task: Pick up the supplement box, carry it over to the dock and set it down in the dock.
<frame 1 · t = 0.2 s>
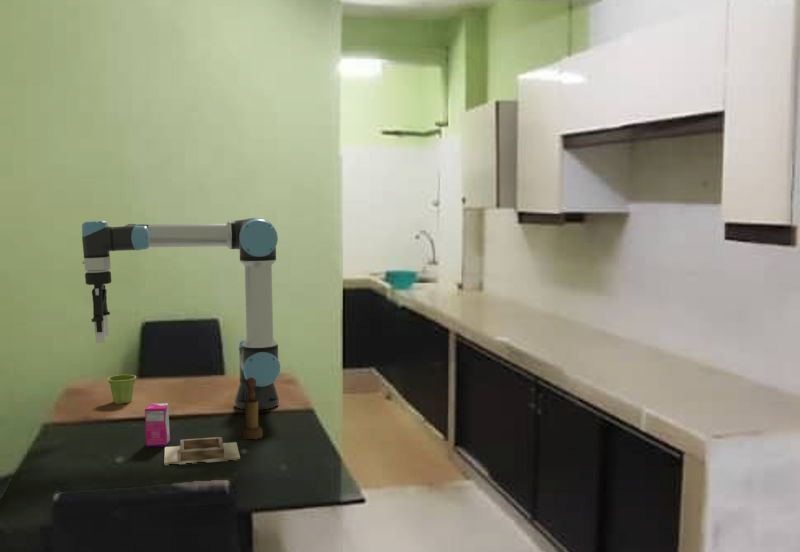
hand: (102, 339, 255), 27 cm above the table, tool pointing down, fingers open, 13 cm apart
dock: (201, 454, 230), on the table
brown tall column piece: (251, 437, 247), on the table
supplement box: (158, 444, 239), on the table
plant pot: (122, 402, 287), on the table
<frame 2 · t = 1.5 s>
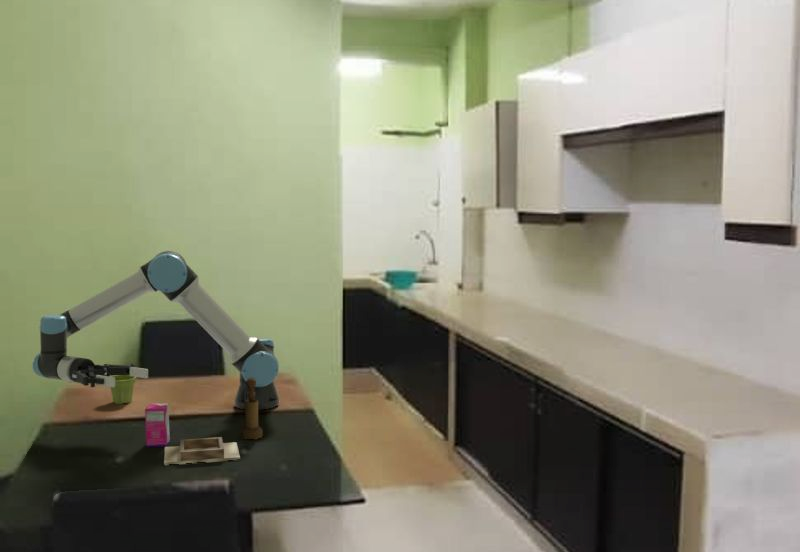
hand: (131, 378, 242), 19 cm above the table, tool horizontal, fingers open, 13 cm apart
nothing on the table moved.
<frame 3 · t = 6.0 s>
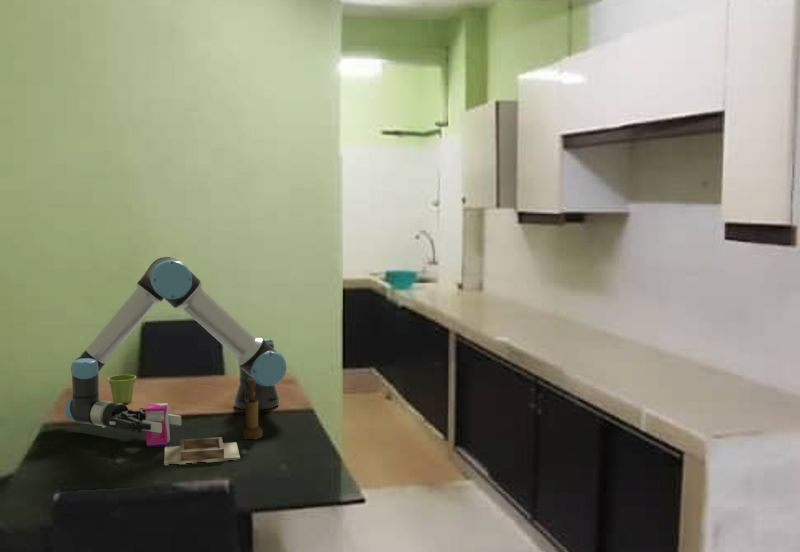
hand: (170, 424, 237), 7 cm above the table, tool horizontal, fingers closed on supplement box, 8 cm apart
supplement box: (158, 444, 239), on the table, touching gripper
everything else where it was.
when the fingers open (9 cm above the table, at t = 10.8 s): supplement box drops 1 cm, resting on dock.
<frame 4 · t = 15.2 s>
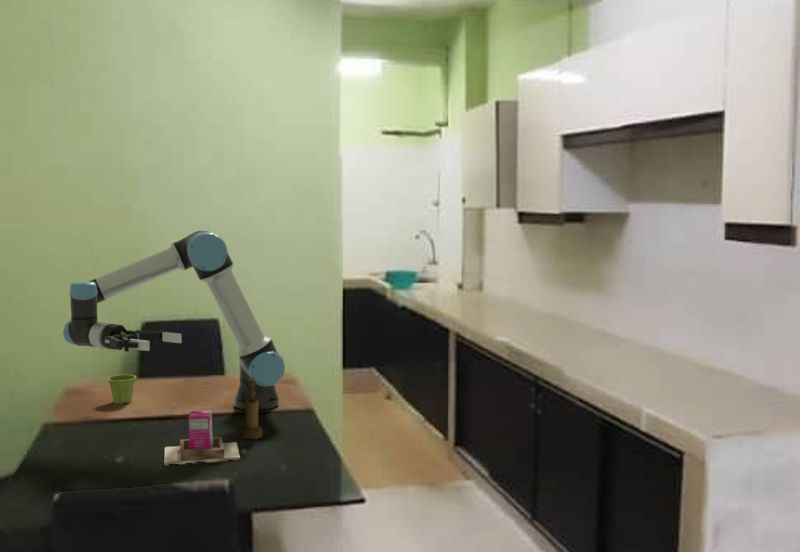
hand: (165, 342, 237), 30 cm above the table, tool horizontal, fingers open, 13 cm apart
supplement box: (201, 453, 229), point 1 cm above the table, touching dock
everything else where it was.
at the end: supplement box 0.2 cm from the target spot on the dock, point 0.6 cm above the dock's base; supplement box tilted 0°; the gripper is holding nothing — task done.
